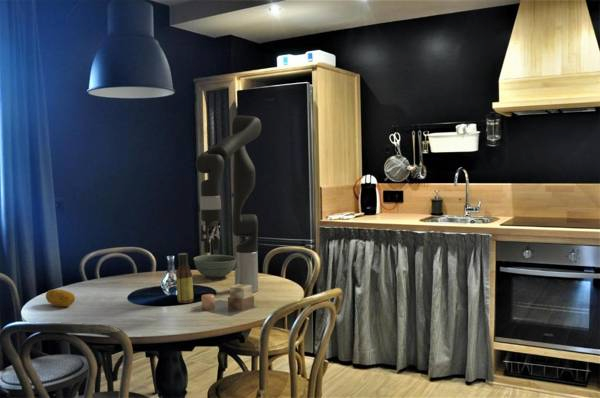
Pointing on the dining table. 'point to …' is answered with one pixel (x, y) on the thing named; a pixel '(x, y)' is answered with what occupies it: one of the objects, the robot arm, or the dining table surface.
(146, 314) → the dining table surface
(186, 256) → the sauce bottle
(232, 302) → the walnut block
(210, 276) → the bowl
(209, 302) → the pink cube
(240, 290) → the birch block
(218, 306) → the slate board
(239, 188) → the robot arm
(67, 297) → the potato
